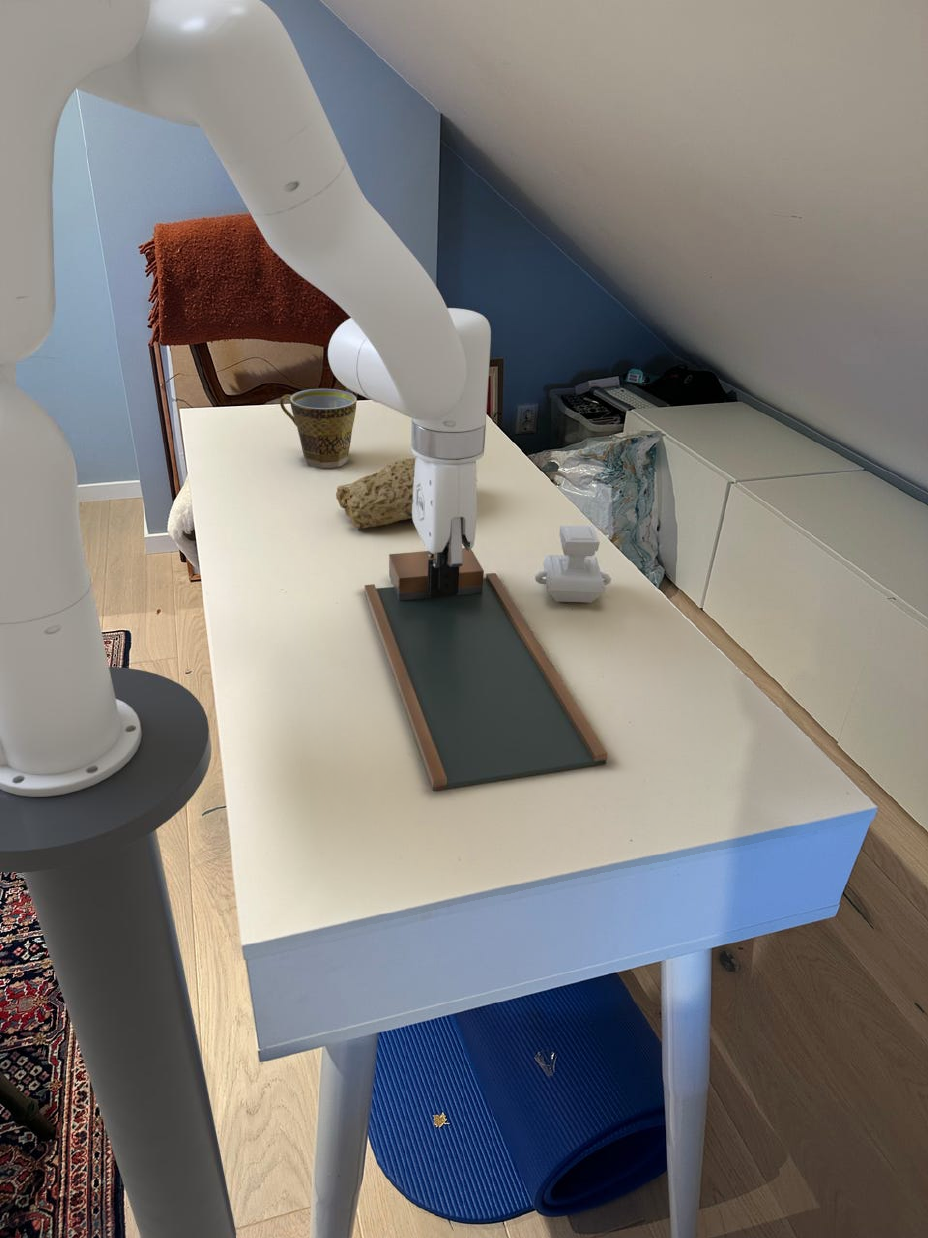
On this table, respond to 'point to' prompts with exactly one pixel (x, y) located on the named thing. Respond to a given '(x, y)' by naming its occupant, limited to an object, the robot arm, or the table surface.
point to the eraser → (413, 574)
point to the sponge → (380, 496)
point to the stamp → (575, 567)
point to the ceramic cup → (323, 424)
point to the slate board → (479, 688)
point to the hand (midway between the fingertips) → (442, 592)
